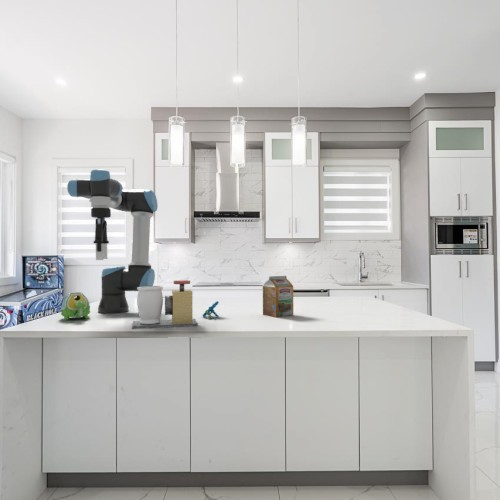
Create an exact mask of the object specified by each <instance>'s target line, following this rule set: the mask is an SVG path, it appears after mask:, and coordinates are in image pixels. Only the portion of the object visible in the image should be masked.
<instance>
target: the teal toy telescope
mask: <svg viewBox="0 0 500 500" xmlns="http://www.w3.org/2000/svg"><path fill="white" fill-rule="evenodd" d="M219 304H220V303H219V301H215V302H214V303H212V306H209V307H208V309H206V310H205V311H204V313H203V314H202V318H205V317H206V316H208V317H210V318H211V319H214V316H215V317H216V318H218V317H219V315H218V314H217V312H215V310H214V309H215V308H216V307H217V305H219ZM212 314H213V315H214V316H213V315H212Z"/></svg>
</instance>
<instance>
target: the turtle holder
mask: <svg viewBox="0 0 500 500" xmlns="http://www.w3.org/2000/svg"><path fill="white" fill-rule="evenodd" d="M60 310H61V312H60V315H61V316H62V317H63V318H62V321H64V322H65V321H66V322H67V321H69V318H82V317H83V318H84V319H85V320H88V319H89V320H90V319H91V317H90V316H89V315H90V313H91V306H90V301H89V299H88V297H87V296H86V295H85V294H84V293H83V292H80V291H79V292H77V291H76V292H68V294H66V296H65V297H64V298H63V301H62V303H61V308H60Z"/></svg>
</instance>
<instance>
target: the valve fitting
mask: <svg viewBox="0 0 500 500" xmlns="http://www.w3.org/2000/svg"><path fill="white" fill-rule="evenodd" d="M190 284H191V280H187V279H186V280H185V279H184V280H181V279H180V280H173V285H179V289H172V290H171V295H165V296H164V316H171V318H170V319H160V322H159V323H156V324H141V323H140V320H133V321H132V324H131V329H133V330H136V329H153V328H155V329H156V328H179V327H197V326H199V323H198V321H197V319H195V318H193V290H192V289H185V285H190Z"/></svg>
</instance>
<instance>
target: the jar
mask: <svg viewBox="0 0 500 500" xmlns="http://www.w3.org/2000/svg"><path fill="white" fill-rule="evenodd" d="M137 290H139V291H137V297H136V304H137V310H138V312H137V313H138V316H139V318H140V320H139V321H140V323H141V324H156V323H159V322H160V320H161V319H160V318H161V315H162V312H163V311H162V309H163V303H164V299H163V298H164V297H163V292H162V290H163V286H162V285H153V286H141V287H137Z"/></svg>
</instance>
